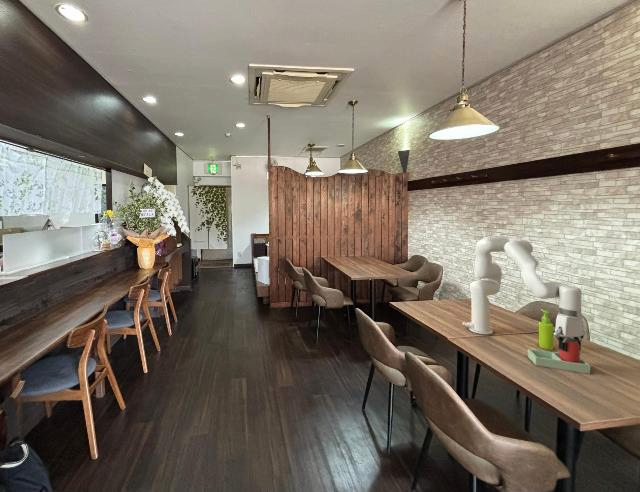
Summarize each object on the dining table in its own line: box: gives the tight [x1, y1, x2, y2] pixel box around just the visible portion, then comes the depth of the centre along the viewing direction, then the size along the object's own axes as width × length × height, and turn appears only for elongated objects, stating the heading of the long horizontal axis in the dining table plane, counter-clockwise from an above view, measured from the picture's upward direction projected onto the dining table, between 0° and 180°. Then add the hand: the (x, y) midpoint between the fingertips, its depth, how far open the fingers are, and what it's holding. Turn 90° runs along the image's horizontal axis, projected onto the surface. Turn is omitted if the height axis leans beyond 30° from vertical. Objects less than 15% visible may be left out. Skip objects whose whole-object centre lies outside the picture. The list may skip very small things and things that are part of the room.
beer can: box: [559, 337, 581, 363], centre depth 136 cm, size 7×7×12 cm
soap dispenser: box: [538, 309, 554, 351], centre depth 156 cm, size 6×7×20 cm
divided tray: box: [527, 348, 591, 375], centre depth 138 cm, size 19×10×4 cm, turn 66°
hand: (569, 349), depth 136 cm, fingers closed on beer can, 6 cm apart
